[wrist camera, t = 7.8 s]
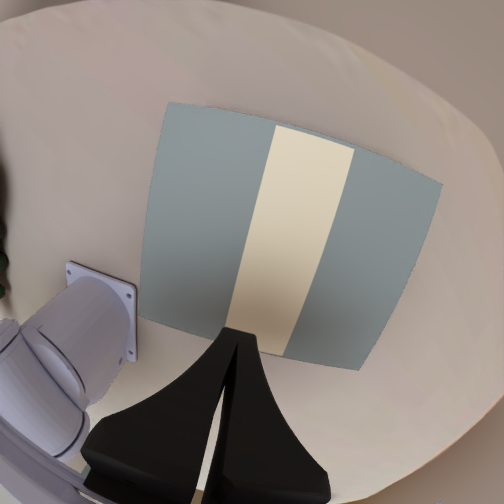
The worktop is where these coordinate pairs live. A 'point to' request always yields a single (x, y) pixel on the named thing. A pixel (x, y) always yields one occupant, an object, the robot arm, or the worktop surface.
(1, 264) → the toy figurine
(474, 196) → the worktop surface
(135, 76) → the worktop surface
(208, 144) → the lid
